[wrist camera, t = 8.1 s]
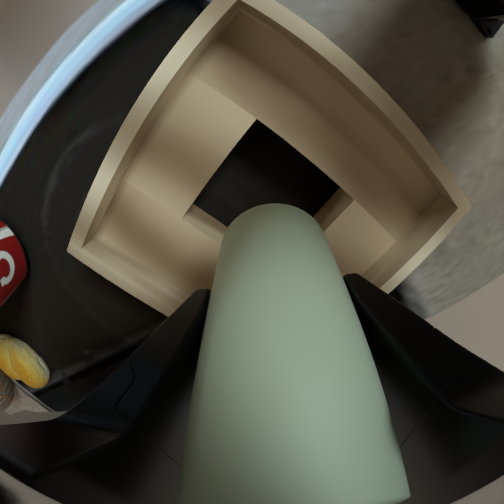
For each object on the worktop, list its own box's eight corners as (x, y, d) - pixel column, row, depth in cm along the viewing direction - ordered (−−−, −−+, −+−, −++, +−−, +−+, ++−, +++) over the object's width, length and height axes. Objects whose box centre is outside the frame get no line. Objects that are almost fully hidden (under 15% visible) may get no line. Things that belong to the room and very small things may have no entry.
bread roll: (58, 382, 30) (48, 404, 27) (13, 361, 29) (2, 380, 26) (41, 345, 26) (27, 369, 23) (-6, 322, 25) (-21, 343, 22)
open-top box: (240, 7, 11) (235, -22, 8) (433, 181, 16) (472, 207, 12) (99, 218, 18) (66, 251, 14) (280, 330, 23) (284, 375, 19)
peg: (266, 180, 10) (291, 502, 2) (347, 245, 11) (443, 486, 3) (200, 261, 11) (140, 511, 3) (279, 309, 12) (294, 529, 5)
